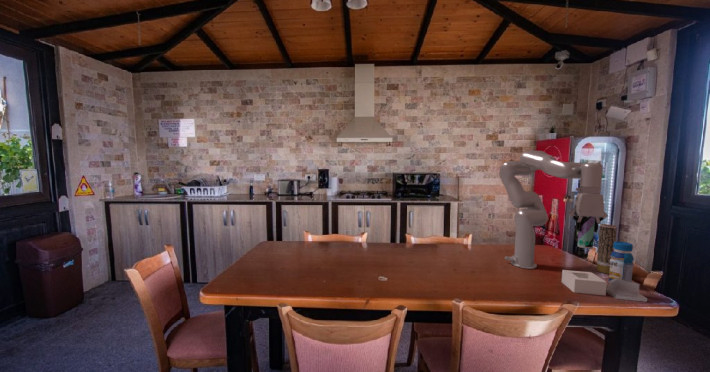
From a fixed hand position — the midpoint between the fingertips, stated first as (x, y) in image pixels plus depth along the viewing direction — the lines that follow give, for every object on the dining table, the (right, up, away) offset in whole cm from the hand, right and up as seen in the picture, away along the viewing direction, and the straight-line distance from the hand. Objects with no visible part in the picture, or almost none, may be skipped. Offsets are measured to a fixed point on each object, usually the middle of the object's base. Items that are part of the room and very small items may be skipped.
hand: (586, 230), depth 134 cm
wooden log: (+28, -26, +24) cm, 45 cm away
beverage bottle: (+21, -27, +7) cm, 35 cm away
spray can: (0, -8, +1) cm, 8 cm away
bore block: (0, -27, +2) cm, 27 cm away
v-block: (+12, -27, -5) cm, 30 cm away
